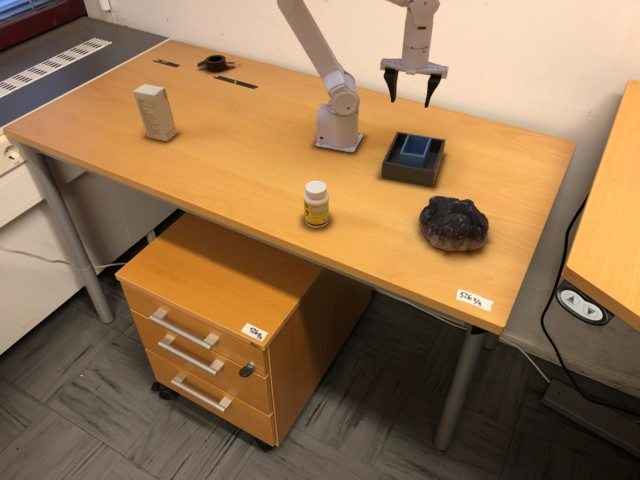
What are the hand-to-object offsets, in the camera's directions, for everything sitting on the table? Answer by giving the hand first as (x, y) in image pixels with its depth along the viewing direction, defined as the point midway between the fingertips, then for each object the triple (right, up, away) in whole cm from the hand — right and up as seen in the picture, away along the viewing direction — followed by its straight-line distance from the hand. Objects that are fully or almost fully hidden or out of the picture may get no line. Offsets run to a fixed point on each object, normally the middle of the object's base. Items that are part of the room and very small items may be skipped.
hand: (409, 103), depth 117 cm
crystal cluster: (+5, -30, -18) cm, 35 cm away
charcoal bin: (0, -15, -2) cm, 15 cm away
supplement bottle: (-21, -27, -15) cm, 38 cm away
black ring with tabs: (-51, +20, +37) cm, 66 cm away
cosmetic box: (-59, -6, +9) cm, 60 cm away
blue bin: (0, -14, -2) cm, 14 cm away
